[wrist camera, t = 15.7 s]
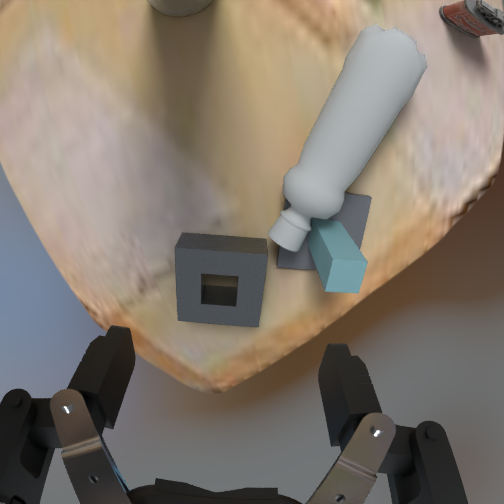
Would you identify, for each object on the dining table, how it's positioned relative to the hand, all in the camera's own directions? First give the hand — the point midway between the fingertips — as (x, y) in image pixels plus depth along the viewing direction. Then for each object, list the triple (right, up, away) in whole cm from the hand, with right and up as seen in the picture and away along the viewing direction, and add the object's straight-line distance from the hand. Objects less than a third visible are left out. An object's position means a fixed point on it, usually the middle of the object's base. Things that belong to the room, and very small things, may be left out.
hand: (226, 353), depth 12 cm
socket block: (-3, +1, +35) cm, 35 cm away
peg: (+11, +7, +32) cm, 34 cm away
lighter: (+32, +39, +17) cm, 53 cm away
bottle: (+12, +19, +26) cm, 34 cm away
